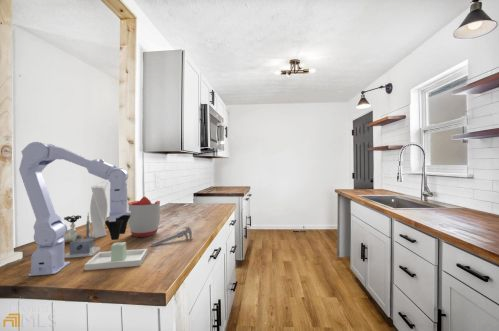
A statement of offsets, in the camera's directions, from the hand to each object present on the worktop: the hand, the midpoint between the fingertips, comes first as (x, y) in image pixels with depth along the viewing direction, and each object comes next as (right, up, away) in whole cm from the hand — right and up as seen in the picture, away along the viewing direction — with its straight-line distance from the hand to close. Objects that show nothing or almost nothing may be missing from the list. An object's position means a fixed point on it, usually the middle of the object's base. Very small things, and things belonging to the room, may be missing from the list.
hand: (118, 236), depth 90 cm
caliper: (+12, -10, +23) cm, 28 cm away
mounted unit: (-19, -9, +8) cm, 23 cm away
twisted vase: (-28, -10, +33) cm, 45 cm away
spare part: (0, -9, 0) cm, 9 cm away
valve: (-35, -10, +23) cm, 43 cm away
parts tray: (0, -9, 0) cm, 9 cm away
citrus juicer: (-6, -10, +37) cm, 38 cm away
